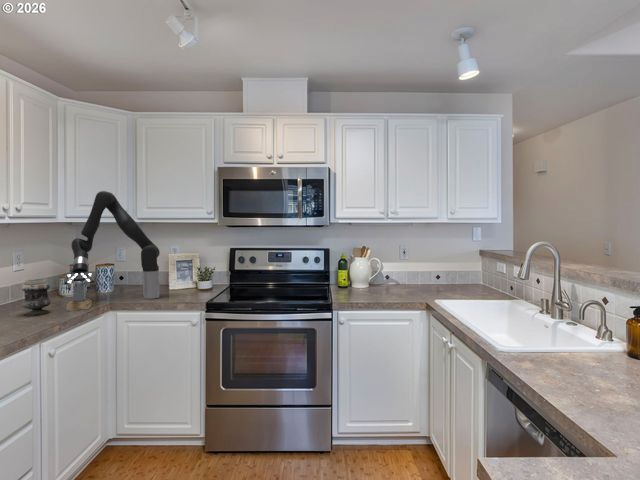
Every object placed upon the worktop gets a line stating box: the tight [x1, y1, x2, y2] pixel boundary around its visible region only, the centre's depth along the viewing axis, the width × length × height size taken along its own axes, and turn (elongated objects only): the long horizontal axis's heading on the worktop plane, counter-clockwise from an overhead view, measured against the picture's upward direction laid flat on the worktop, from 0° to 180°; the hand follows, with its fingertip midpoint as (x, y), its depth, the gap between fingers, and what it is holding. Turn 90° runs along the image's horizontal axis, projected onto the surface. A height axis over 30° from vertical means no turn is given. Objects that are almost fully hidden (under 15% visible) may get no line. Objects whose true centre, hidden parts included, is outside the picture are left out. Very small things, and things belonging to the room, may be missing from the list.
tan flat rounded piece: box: [65, 298, 93, 312], centre depth 203 cm, size 10×10×4 cm
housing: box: [72, 281, 88, 303], centre depth 203 cm, size 6×6×11 cm
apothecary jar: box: [21, 278, 52, 317], centre depth 191 cm, size 12×12×18 cm
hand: (78, 289), depth 202 cm, fingers open, 8 cm apart
